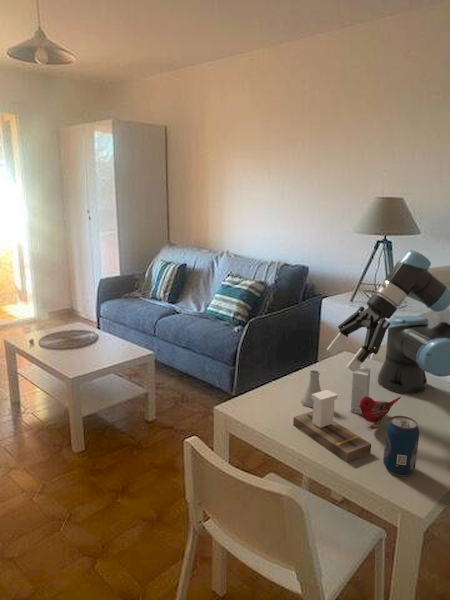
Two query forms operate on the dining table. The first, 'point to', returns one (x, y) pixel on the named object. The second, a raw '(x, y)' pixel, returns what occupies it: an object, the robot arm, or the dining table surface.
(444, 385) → the dining table surface
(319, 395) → the fader knob
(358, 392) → the skincare box
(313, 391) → the flask
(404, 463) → the soda can
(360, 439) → the fader board
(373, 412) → the decorative bird figurine
